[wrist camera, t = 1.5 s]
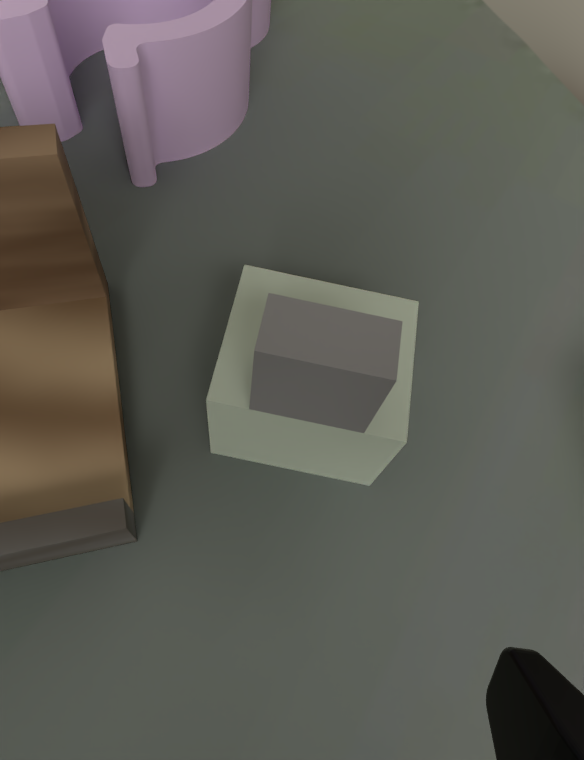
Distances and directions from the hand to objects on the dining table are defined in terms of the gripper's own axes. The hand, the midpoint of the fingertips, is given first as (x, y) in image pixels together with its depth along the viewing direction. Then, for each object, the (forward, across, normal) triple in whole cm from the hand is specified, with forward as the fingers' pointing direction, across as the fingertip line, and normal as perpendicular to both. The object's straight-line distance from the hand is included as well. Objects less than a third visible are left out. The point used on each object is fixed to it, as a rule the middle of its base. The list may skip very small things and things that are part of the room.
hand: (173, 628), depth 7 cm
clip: (+34, +8, -11) cm, 36 cm away
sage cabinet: (+17, -2, +4) cm, 18 cm away
